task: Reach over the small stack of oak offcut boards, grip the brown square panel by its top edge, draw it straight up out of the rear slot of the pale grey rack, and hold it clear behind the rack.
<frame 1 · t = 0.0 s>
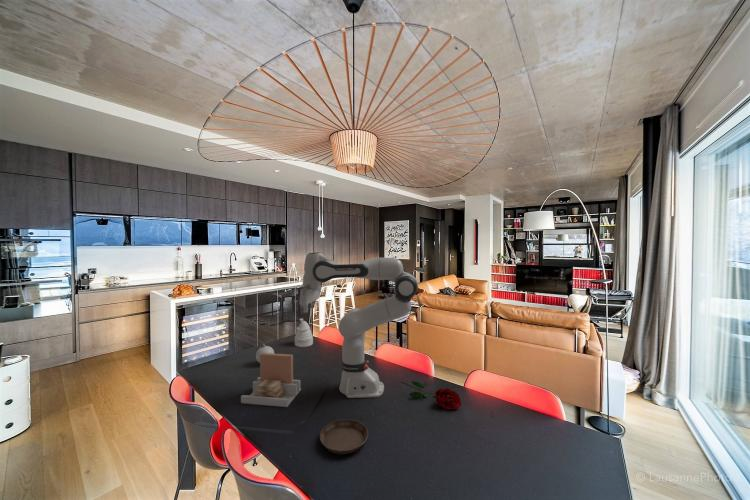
hand: (309, 310, 147), 39 cm above the table, tool pointing down, fingers open, 8 cm apart
rack: (272, 397, 136), on the table
chocolate bar: (265, 380, 154), on the table
flower: (428, 401, 133), on the table
offcut top: (269, 388, 133), point 6 cm above the table, touching offcut middle
offcut middle: (269, 393, 133), point 3 cm above the table, touching offcut bottom, offcut top
honey pot: (303, 344, 209), on the table
offcut bottom: (269, 398, 133), point 1 cm above the table, touching offcut middle, rack
ornament: (265, 363, 175), on the table
plant saucer: (344, 441, 106), on the table
brown square panel: (276, 391, 140), point 1 cm above the table, touching rack
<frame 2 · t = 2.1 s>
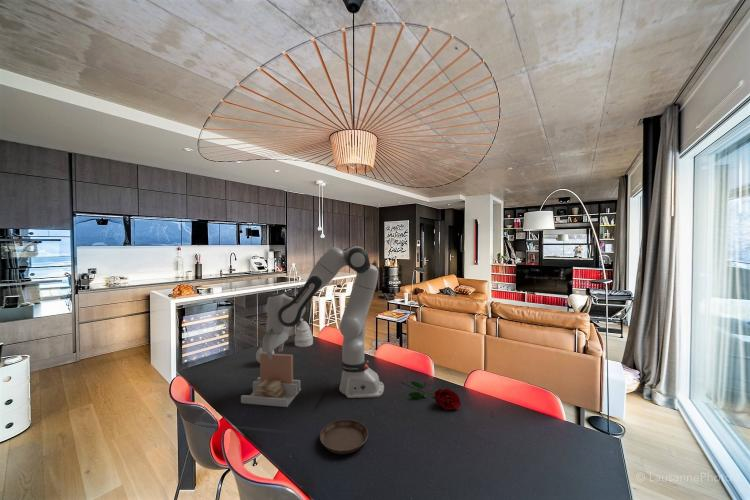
hand: (275, 354, 139), 19 cm above the table, tool pointing down, fingers open, 8 cm apart
nothing on the table moved.
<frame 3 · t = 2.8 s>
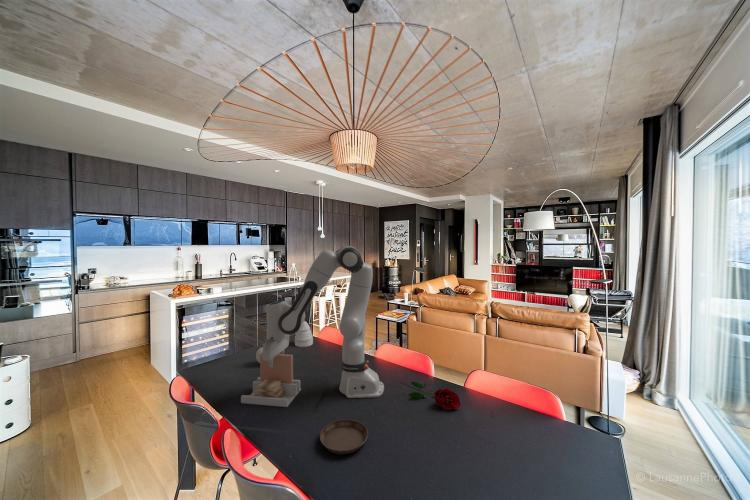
hand: (276, 362, 139), 15 cm above the table, tool pointing down, fingers open, 8 cm apart
nothing on the table moved.
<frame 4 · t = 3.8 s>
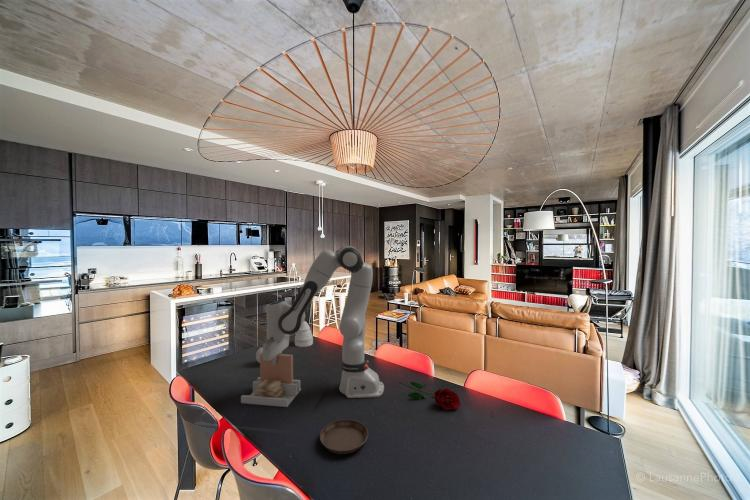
hand: (276, 362, 139), 15 cm above the table, tool pointing down, fingers closed on brown square panel, 2 cm apart
brown square panel: (276, 391, 140), point 1 cm above the table, touching gripper, rack
everything else where it was.
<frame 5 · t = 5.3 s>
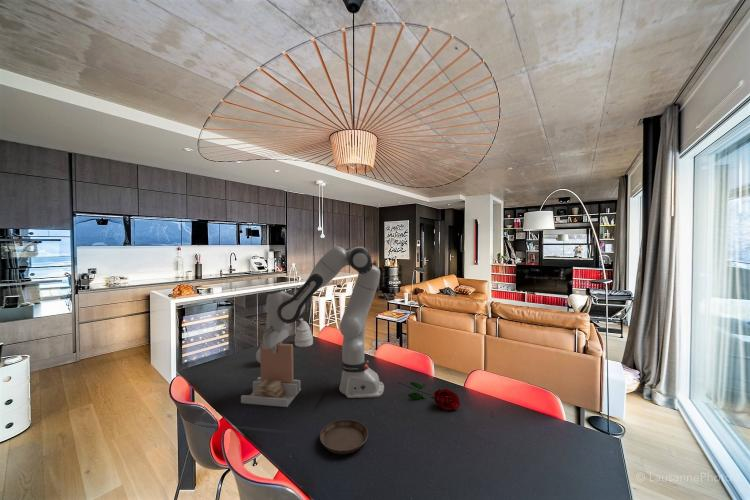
hand: (276, 352, 139), 20 cm above the table, tool pointing down, fingers closed on brown square panel
brown square panel: (277, 380, 140), point 6 cm above the table, touching gripper
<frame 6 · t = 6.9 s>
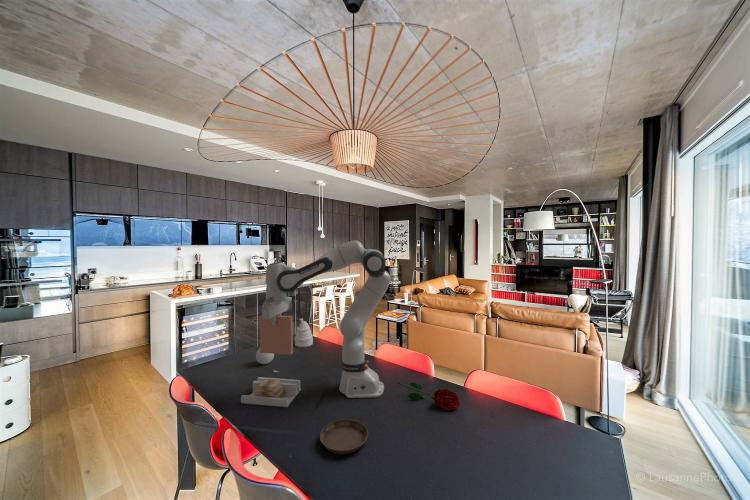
hand: (276, 323, 139), 34 cm above the table, tool pointing down, fingers closed on brown square panel
brown square panel: (276, 352, 139), point 20 cm above the table, touching gripper
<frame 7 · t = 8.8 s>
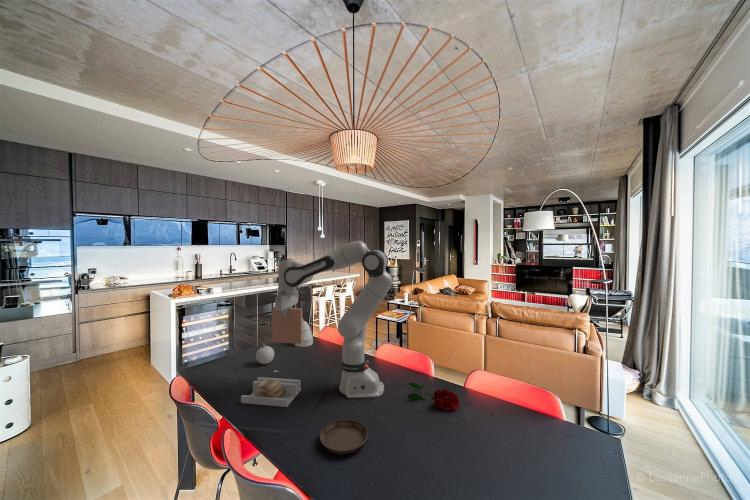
hand: (287, 315, 151), 35 cm above the table, tool pointing down, fingers closed on brown square panel
brown square panel: (287, 342, 151), point 21 cm above the table, touching gripper
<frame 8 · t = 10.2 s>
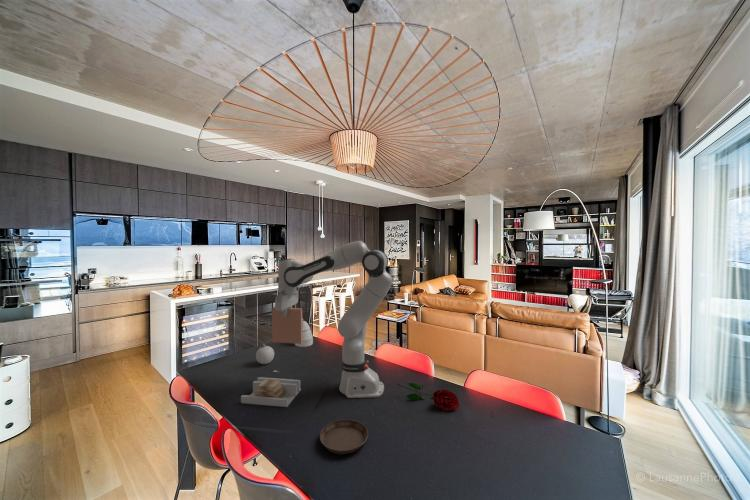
hand: (287, 315, 151), 35 cm above the table, tool pointing down, fingers closed on brown square panel
brown square panel: (287, 342, 151), point 21 cm above the table, touching gripper
at the end: brown square panel inside the target area (0.0 cm from its centre), point 20.9 cm above the table; the gripper is holding brown square panel; offcut top moved 0.0 cm from its start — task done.
